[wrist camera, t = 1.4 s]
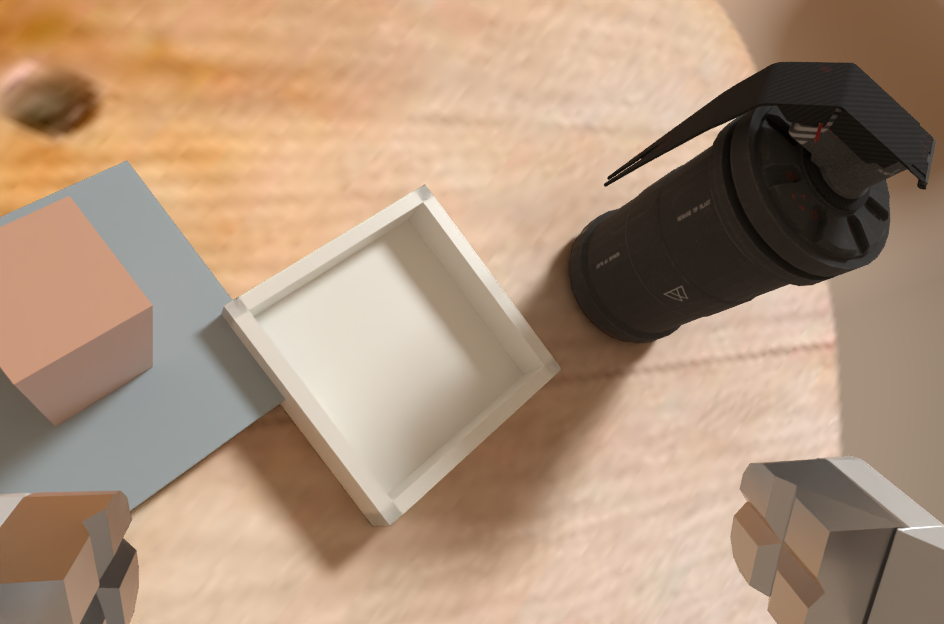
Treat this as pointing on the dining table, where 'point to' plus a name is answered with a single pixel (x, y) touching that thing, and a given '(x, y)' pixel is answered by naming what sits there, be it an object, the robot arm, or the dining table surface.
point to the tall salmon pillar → (68, 312)
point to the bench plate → (154, 391)
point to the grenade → (752, 201)
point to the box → (393, 352)
